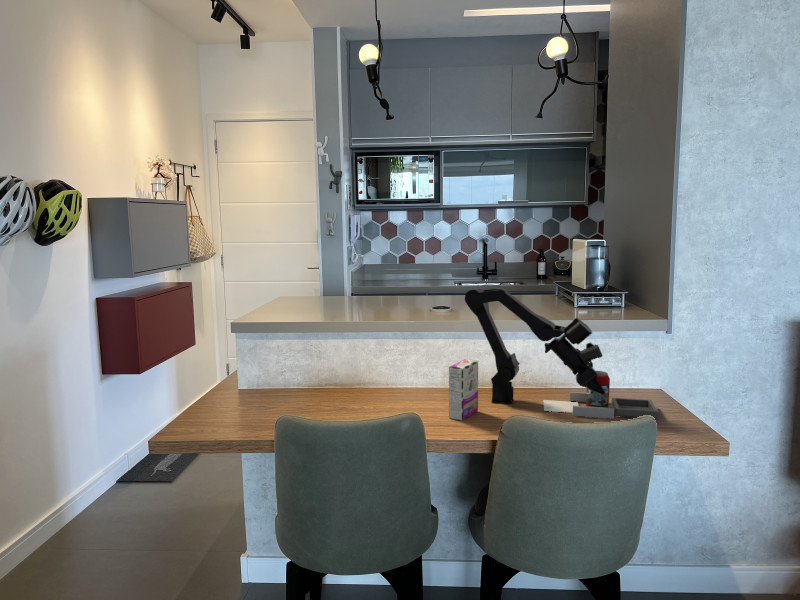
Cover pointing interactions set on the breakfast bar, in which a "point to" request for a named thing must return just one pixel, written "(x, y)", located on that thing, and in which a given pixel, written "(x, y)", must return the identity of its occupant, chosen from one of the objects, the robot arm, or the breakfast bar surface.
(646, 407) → the box
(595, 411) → the channel walls
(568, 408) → the pad
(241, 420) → the breakfast bar surface
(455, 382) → the candy bar box
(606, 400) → the beverage can
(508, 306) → the robot arm
